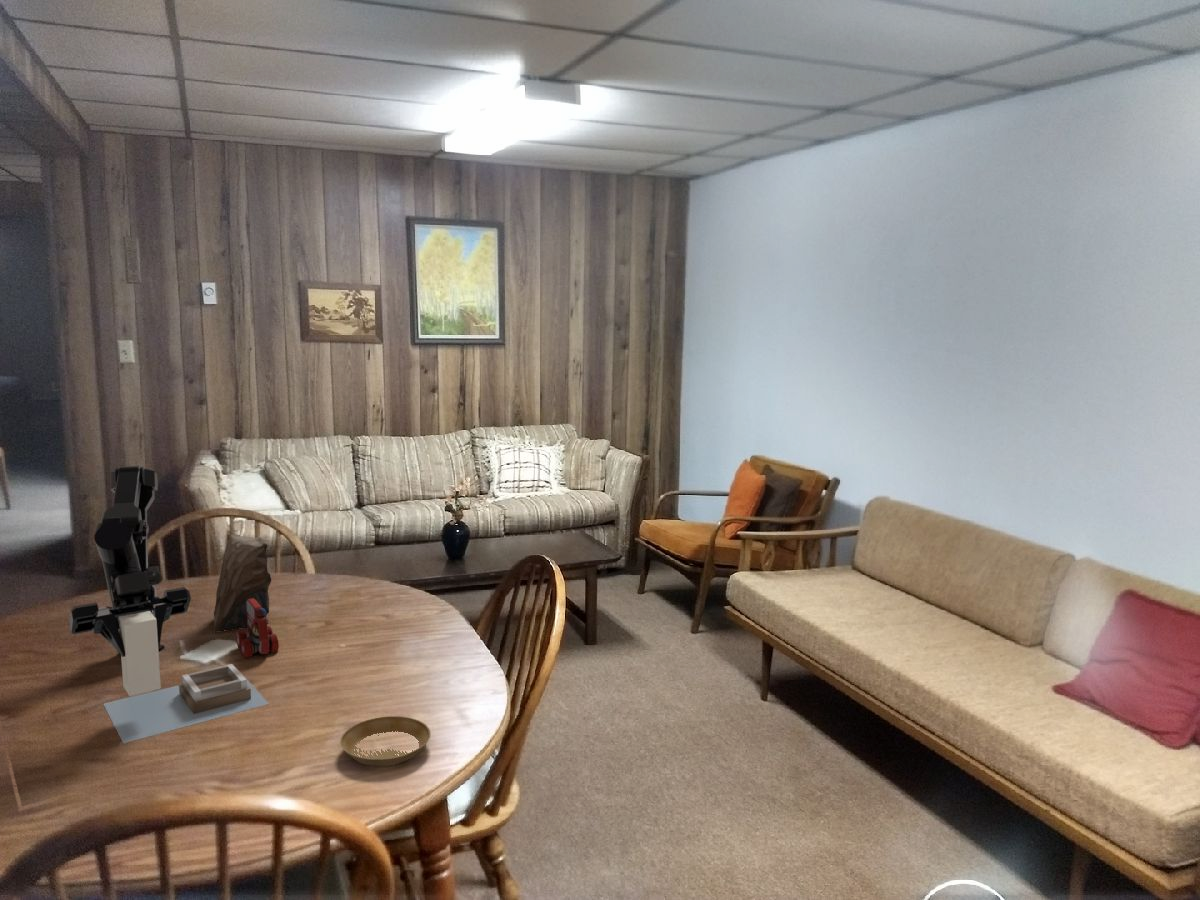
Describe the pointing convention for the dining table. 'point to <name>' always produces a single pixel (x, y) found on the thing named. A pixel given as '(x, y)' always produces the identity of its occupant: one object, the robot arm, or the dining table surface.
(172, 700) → the blue-gray board
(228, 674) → the brown open tray
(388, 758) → the plant saucer
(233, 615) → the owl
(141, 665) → the cream post
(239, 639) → the toy fire truck
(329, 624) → the dining table surface
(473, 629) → the dining table surface
